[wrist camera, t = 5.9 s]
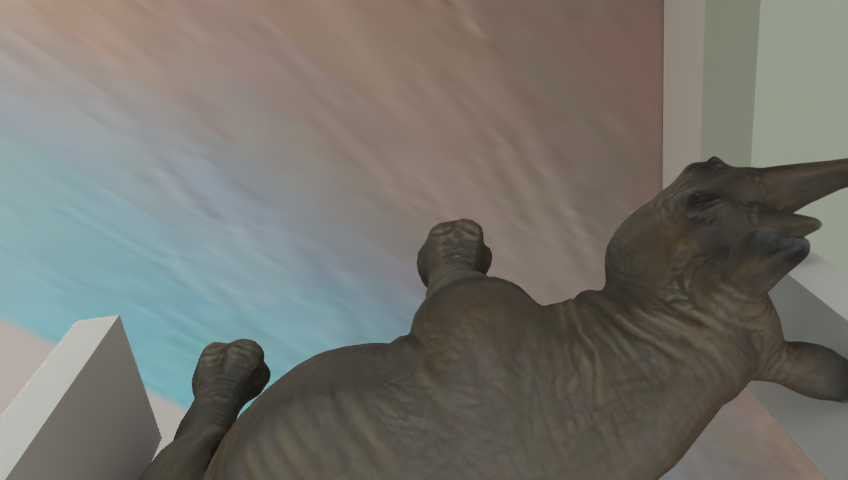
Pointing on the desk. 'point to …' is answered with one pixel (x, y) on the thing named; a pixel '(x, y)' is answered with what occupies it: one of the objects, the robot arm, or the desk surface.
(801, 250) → the rhino figurine
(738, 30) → the block
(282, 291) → the desk surface
